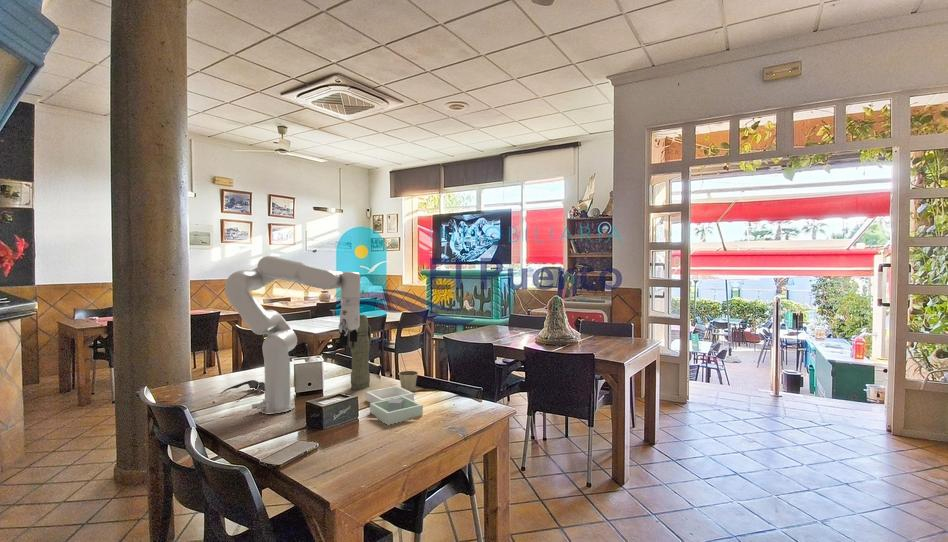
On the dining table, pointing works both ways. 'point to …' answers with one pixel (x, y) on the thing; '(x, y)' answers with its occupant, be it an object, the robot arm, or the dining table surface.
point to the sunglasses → (252, 385)
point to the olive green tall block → (361, 355)
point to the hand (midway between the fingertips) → (348, 343)
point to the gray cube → (395, 404)
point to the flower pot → (408, 380)
